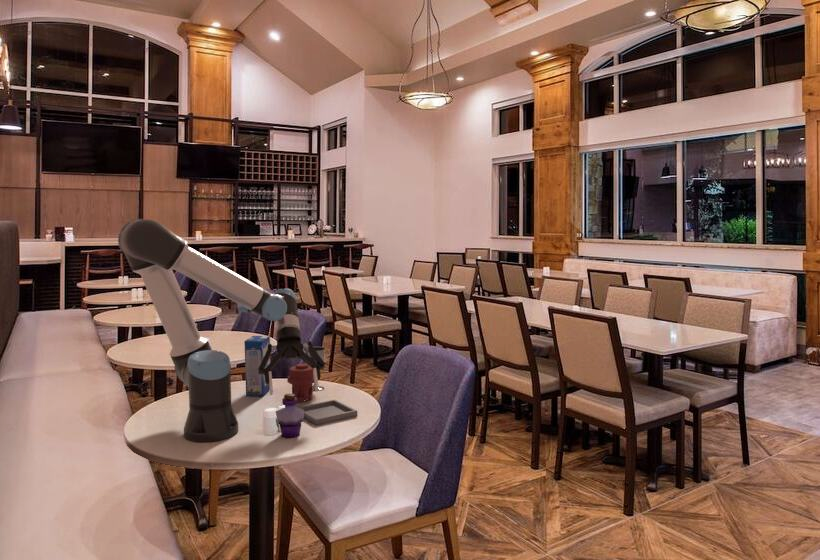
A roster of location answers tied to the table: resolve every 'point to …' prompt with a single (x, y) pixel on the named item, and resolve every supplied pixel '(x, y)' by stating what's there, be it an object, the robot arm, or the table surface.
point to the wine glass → (322, 354)
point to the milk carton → (256, 365)
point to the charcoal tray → (327, 412)
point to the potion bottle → (289, 417)
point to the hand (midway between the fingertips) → (294, 390)
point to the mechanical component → (301, 381)
